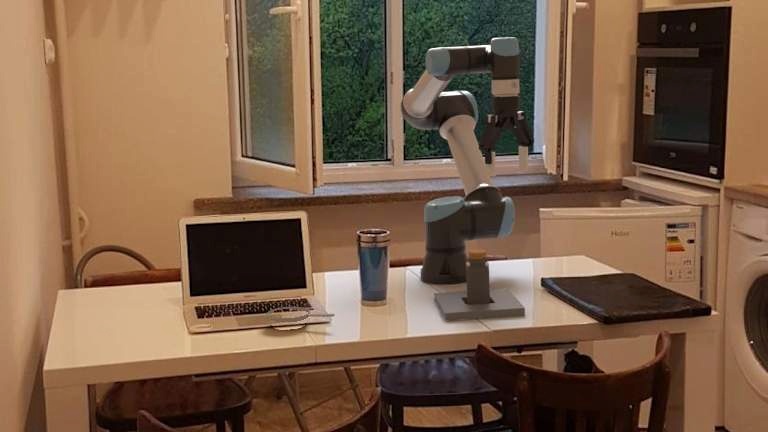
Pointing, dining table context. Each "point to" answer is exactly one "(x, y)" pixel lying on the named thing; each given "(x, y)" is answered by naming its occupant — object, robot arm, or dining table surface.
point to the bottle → (477, 278)
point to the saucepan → (296, 317)
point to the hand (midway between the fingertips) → (507, 173)
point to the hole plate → (478, 305)
